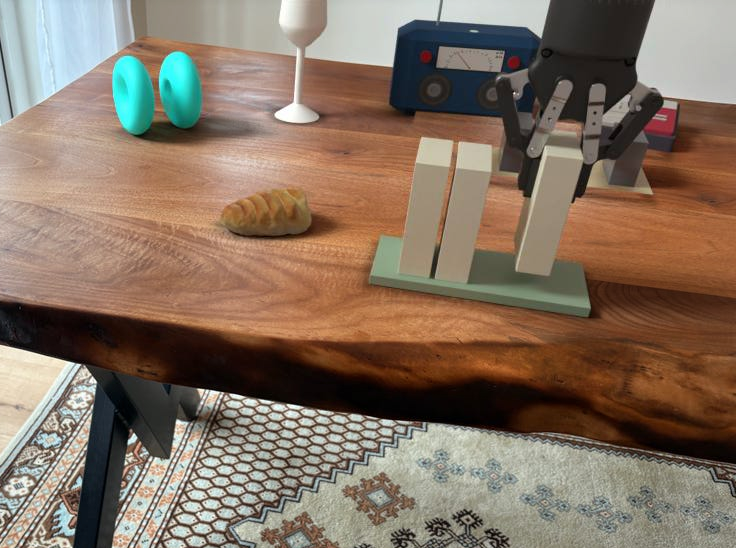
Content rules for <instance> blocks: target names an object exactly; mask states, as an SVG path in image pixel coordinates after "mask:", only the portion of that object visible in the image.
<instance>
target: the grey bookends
mask: <svg viewBox="0 0 736 548" xmlns="http://www.w3.org/2000/svg"><path fill="white" fill-rule="evenodd" d="M517 113H518V118H519V123H520V128H521V130H523V131H525V132H527V133H530V131H531V129H532V126H533V124H534V118H533V112H532V113H526V112H517ZM617 125H618V122H615V123H614V126H613V129H614V128H615V127H616V126H617ZM612 131H613V130H612ZM648 145H649V142H648V140H647V138H646V136H645V134H644V132H643V130H642V131H641V132H640V134H639V135H638V136H637V137H636V138H635V139H634V141H633V142H632V143H631V144H630V145H629V147H628V148H627V149H626V150H625V151H624V153H623V154H622V155H621V156H620V157H619V158H618V159H616V160H610V159H603V160H599V161H597V162H596V163H595V164H594V165H593V167H592V171H591V174H590V177H589V181H588V184H587V187H588V188H597V189H603V190H612V191H620V192H626V193H627V192H629V193H636V194H643V195H654V192H653V190H652V188H651V186H650V184H649V183H650V182H649V181H648V179H647V177H646V174H645V172H644V169H643V167H642V165H643V163H644V159H645V156H646V154H647V150H648V149H647V148H648ZM522 158H523V152H522V151H521V150H519V149H517V148H512V147H510V146H509V145H508V144H507V139H506V135H505V130H504V129H503V131H502V135H501V140H500V144H499V148H498V147H492V174H491V176H498V177H499V176H500V177H505V178H506V177H507V178H515V179H517V178H518V174H519V170H520V166H521V162H522ZM587 187H586V188H587Z"/></svg>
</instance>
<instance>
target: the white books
mask: <svg viewBox="0 0 736 548" xmlns="http://www.w3.org/2000/svg"><path fill="white" fill-rule="evenodd" d="M454 142H455V141H454V140H452V139H445V138H444V139H443V138H434V137H426V136H421V137H420V141H419V145H418V149H417V154H416V158H415V162H414V169H413V173H412V174H413V175H412V181H411V189H410V193H409V200H408V206H407V213H406V219H405V224H404V230H403V237H397V236H390V235H385V234H381V235H380V237H379V241H378V244H377V245H378V246H377V248H376V252H375V256H374V258H373V263H372V267H371V269H370V273H369V279H368V284H369V285H372V286H373V285H374V286H381V287H388V288H392V289H393V288H394V289H399V290H407V291H413V292H419V293H426V294H432V295H439V296H444V297H445V296H446V297H451V298H458V299H464V300H465V299H466V300H470V301H471V300H472V301H478V302H484V303H490V304H496V305H497V304H498V305H502V306H503V305H504V306H511V307H517V308H523V309H530V310H536V311H542V312H549V313H555V314H562V315H568V316H576V317H581V318H582V317H583V318H589V315H590V313H591V310H592V308H591V302H590V297H589V296H590V295H589V291H588V285H587V282H586V277H585V276H586V275H585V271H584V266H583V263H581V262H574V261H567V260H559V259H555V260H554V263H553V267H552V270H551V273H550V276H543V275H536V274H529V273H522V272H516V267H515V253H511V252H505V251H504V252H503V251H498V250H497V251H496V250H490V249H483V248H476V245H477V241H478V237H479V232H480V227H481V222H482V219H483V215H484V214H483V213H484V210H485V205H486V200H487V196H488V192H489V187H490V182H491V179H492V175H491V174H492V148H493V144H485V143H477V142H470V141H469V142H468V141H462V140H461V141H458V146H457V151H456V156H455V161H454V167H453V173H452V176H451V177H452V178H451V183H450V188H449V194H448V199H447V203H446V209H445V214H444V219H443V224H442V230H441V235H440V240H439V242H437V240H438V234H439V230H440V223H441V218H442V214H443V209H444V208H443V207H444V202H445V197H446V192H447V188H448V187H447V186H448V182H449V177H450V171H451V165H452V157H453V149H454Z"/></svg>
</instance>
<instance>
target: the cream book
mask: <svg viewBox="0 0 736 548" xmlns="http://www.w3.org/2000/svg"><path fill="white" fill-rule="evenodd" d="M540 155H541V162H540V166H539V170H538V174H537V177H536V181H535V185H534V189H533V193H532V196H531V198H527V197H523V198H524V199H523V202H522V206H521V209H520V214H519V218H518V222H517V226H516V230H515V233H514V237H513V245H514V246H513V247H514V254H515V267H516V272H522V273H529V274H536V275H543V276H550V273H551V270H552V267H553V263H554V260H556V257H557V253H558V249H559V246H560V243H561V239H562V236H563V232H564V229H565V225H566V223H567V218H568V215H569V212H570V208H571V206H572V203H571V202H572V199H573V195H574V192H575V188H576V185H577V182H578V178H579V175H580V171H581V168H582V165H583V161H584V158H583V155H582V151H581V147H580V139H579V136H578V133H577V132H574V131H565V130H556V129H553V131H552V132H551V134H550V135H549V137H548V139H547V141H546V143H545V145H544V148H543V150H542V152H541V154H540Z"/></svg>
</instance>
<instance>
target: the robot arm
mask: <svg viewBox="0 0 736 548" xmlns="http://www.w3.org/2000/svg"><path fill="white" fill-rule="evenodd" d="M655 3H656V0H549V5H548V9H547V13H546V17H545V20H544V25H543V29H542V34H541V37H540V38H541V41H540V46H539V49H538V52H537V54H536V55H535V57H534V58H533V59H532V61H531V62H530V63H529V65H528V68H527V69H524V70H521V71H517V72H514V73H511V74H508V73H506V72H501V73H499V74H498V75H497V76H496V80H495V88H496V93H497V98H498V102H499V107H500V111H501V116H502V118H501V121H502V124H503V125H502V126H503V130H505V135H506V139H507V144H508V145H509V146H510V147H512V148H517V149H519V150H521V151H522V152H523V158H522V162H521V166H520V170H519V174H518V178H516V179H517V188H518V190H519V191H522V198H525V197H527V198H531V196H532V193H533V189H534V185H535V181H536V177H537V174H538V170H539V166H540V162H541V155H540V154H541V152H542V150H543V148H544V145H545V143H546V141H547V139H548V137H549V135H550V134H551V132H552V131H553V130H554V129H555V126H556V124H557V122H558V121H565V120H573V121H576V122H579V123H580V128H581V129H580V139H579V144H580V147H581V151H582V155H583V158H584V161H583V165H582V168H581V171H580V175H579V178H578V182H577V185H576V188H575V192H574V195H573V199H572V202H571V205H573V204H575V201H576V199H578V198H579V199H581V198H582V197H583V196H584V195H585V193H586V190H587V184H588V181H589V177H590V174H591V171H592V167H593V165H594V164H595V163H596V162H597V161H599V160H600V161H603V159H610V160H616V159H618V158H619V157H620V156H621V155H622V154H623V153H624V151H625V150H626V149H627V148H628V147H629V145H630V144H631V143H632V142H633V141H634V139H635V138H636V137H637V136H638V135H639V134H640V132H641V131H642V130H643V129H644V128H645V126H646V125H647V124H648V123H649V122H650V121H651V119H652V118H653V117H654V116H655V115H656V113H657V112H658V111H659V110H660V109H661V107H662V106H663V104H664V100H665V99H664V97H663V95H662V94H661V92H660V91H659V90H658V89H657V88H656V87H648V86H647V85H646V84H644V83H642V82H641V81H639V80H638V77H639V76H638V73H637V61H638V58H639V54H640V51H641V48H642V45H643V41H644V38H645V34H646V31H647V29H648V25H649V22H650V19H651V15H652V12H653V9H654V6H655ZM528 82H530V84H531V86H532V89H533V91H534V93H535V95H536V100H537V102H538V104H539V108H538V110H537V112H536V114H535V118H534V120H533V126H532V129H531V131H530V133H527V132H525V131H523V130H521V128H520V123H519V118H518V113H517V108H516V103H515V100H518V99H520V98H521V96H522V94H523V87H524V85H525V84H526V83H528ZM629 94H630V95H631V97H630V99H629V101H628V108H629V111H628V112H627V114H626V115H625V116H624V117H623V118H622V120H621V121H620V122H619V123H618V125H617V126H616V127H615V128H614V129H613V131H612V132H611V133H610V134H609V136H608V137H607V138H606V139H605V140H601V141H599V138H600V135H601V127H602V118H603V115H604V114H605V113H606V112H608V111H609V110H610V109H611V108H612V107H613V106H615V105H616V104H617V103H618V102H619V101H620V100H621V99H623V98H624V97H625V96H626V95H629Z"/></svg>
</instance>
